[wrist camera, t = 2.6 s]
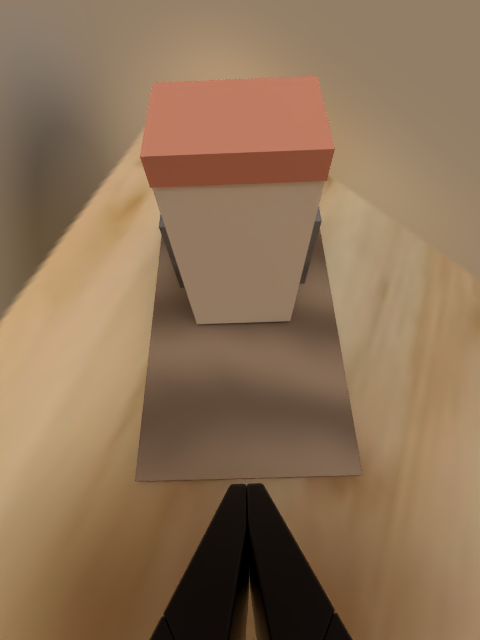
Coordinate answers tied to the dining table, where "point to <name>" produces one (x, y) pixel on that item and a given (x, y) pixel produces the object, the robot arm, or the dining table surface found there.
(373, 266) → the dining table surface
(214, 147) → the switch lever
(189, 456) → the switch base
